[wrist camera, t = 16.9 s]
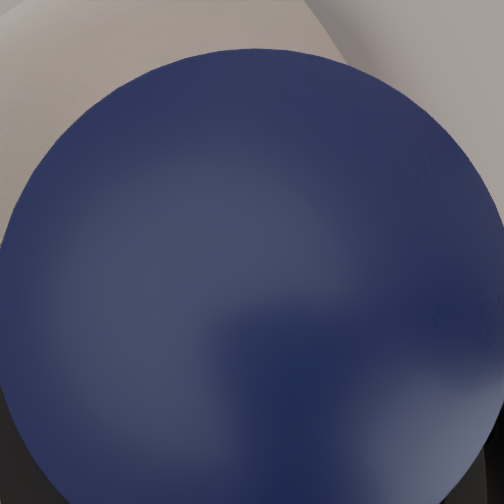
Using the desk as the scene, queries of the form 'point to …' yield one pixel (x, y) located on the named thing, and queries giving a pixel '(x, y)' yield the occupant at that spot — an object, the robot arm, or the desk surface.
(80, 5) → the desk surface
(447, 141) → the lid
